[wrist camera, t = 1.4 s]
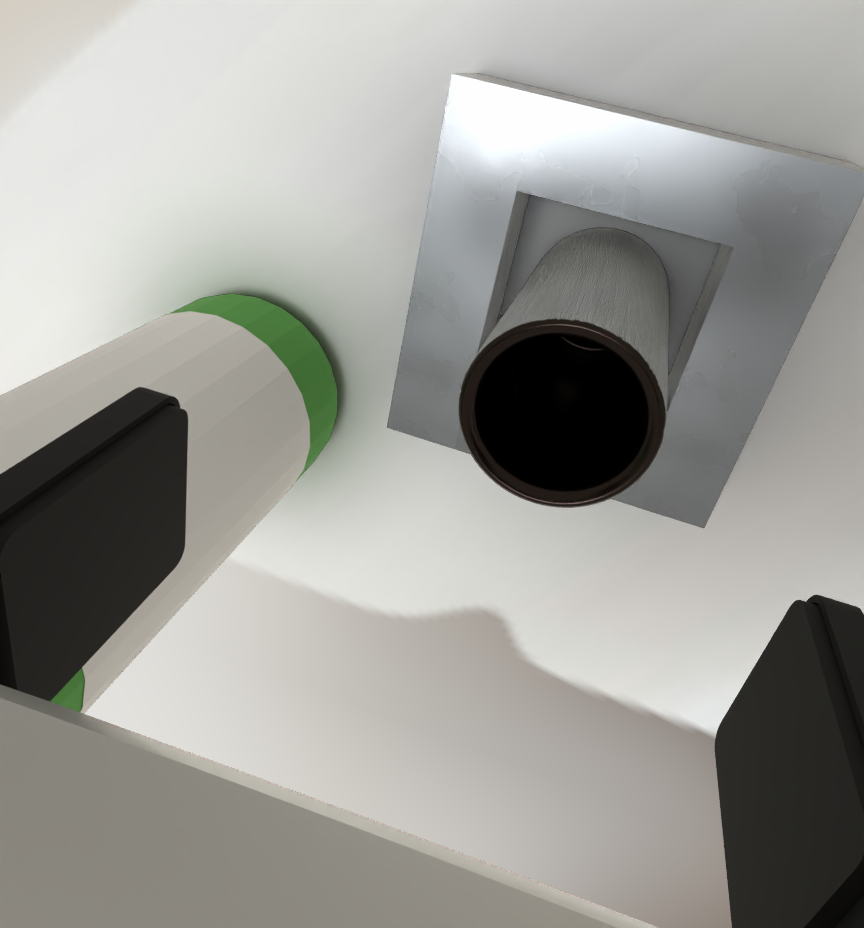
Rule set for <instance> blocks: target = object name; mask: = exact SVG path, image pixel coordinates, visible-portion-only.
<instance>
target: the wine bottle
mask: <svg viewBox="0 0 864 928" xmlns="http://www.w3.org/2000/svg"><path fill="white" fill-rule="evenodd" d="M138 387H144V388H147V389H151V390H154V391H157V392H160V393H164V394H167V395H170V396H173V397H175V398H177V399H178V401H179V404H180V408H181V409H184V410H185V411H186V412H187V414H188V452H187V493H186V534H185V549H184V553H183V556H182V558H181V560H180V562H179V564H178V565H177V566H176V568H175V569H174V570H173V571H172V572H171V573H170V574H169V575H168V576H167V577H166V578H165V579H164V581H163V582H162V583H161V584H160V585H159V586H158V587H157V588H156V589H155V590H154V591H153V592H152V593H151V594H150V595H149V597H148V598H147V599H146V600H145V601H144V602H143V603H142V604H141V605H140V606H139V607H138V608H137V609H136V610H135V611H134V613H133V614H132V615H131V616H130V617H129V618H128V619H127V620H126V621H125V622H124V623H123V624H122V625H121V626H120V628H119V629H118V630H117V631H116V632H115V633H114V634H113V635H112V636H111V637H110V638H109V639H108V640H107V641H106V642H105V644H104V645H103V646H102V647H101V648H100V649H99V650H98V651H97V652H96V653H95V654H94V655H93V656H92V657H91V658H90V660H89V661H88V662H87V663H86V664H85V665H84V666H83V667H82V668H81V669H80V670H79V671H78V672H77V673H76V675H75V676H74V677H73V678H72V679H71V680H70V681H69V682H68V683H67V684H66V685H65V686H64V687H63V688H62V689H61V691H60V692H59V693H58V694H57V695H56V696H55V697H54V698H53V699H52V700H51V701H50V702H52V703H55V704H58V705H61V706H64V707H66V708H69V709H72V710H75V711H77V712H80V713H83V714H84V713H85V712H86V711H87V710H88V709H89V708H90V706H91V705H92V704H93V703H94V702H95V701H96V700H97V699H98V698H99V697H100V696H101V694H102V693H103V692H104V691H105V690H106V689H107V688H108V687H109V686H110V685H111V684H112V683H113V682H114V680H115V679H116V678H117V677H118V676H119V675H120V674H121V673H122V672H123V671H124V669H125V668H126V667H127V666H128V665H129V664H130V663H131V662H132V661H133V660H134V659H135V658H136V656H137V655H138V654H139V653H140V652H141V651H142V650H143V649H144V648H145V647H146V645H147V644H148V643H149V642H150V641H151V640H152V639H153V638H154V637H155V636H156V635H157V633H158V632H159V631H160V630H161V629H162V628H163V627H164V626H165V625H166V624H167V623H168V621H169V620H170V619H171V618H172V617H173V616H174V615H175V614H176V613H177V612H178V611H179V609H180V608H181V607H182V606H183V605H184V604H185V603H186V602H187V601H188V600H189V599H190V597H191V596H192V595H193V594H194V593H195V592H196V591H197V590H198V589H199V588H200V587H201V585H202V584H203V583H204V582H205V581H206V580H207V579H208V578H209V577H210V576H211V574H212V573H213V572H214V571H215V570H216V569H217V568H218V567H219V566H220V565H221V564H222V563H223V561H224V560H225V559H226V558H227V557H228V556H229V555H230V554H231V553H232V552H233V551H234V549H235V548H236V547H237V546H238V545H239V544H240V543H241V542H242V541H243V540H244V539H245V537H246V536H247V535H248V534H249V533H250V532H251V531H252V530H253V529H254V528H255V527H256V525H257V524H258V523H259V522H260V521H261V520H262V519H263V518H264V517H265V516H266V515H267V513H268V512H269V511H270V510H271V509H272V508H273V507H274V506H275V505H276V504H277V503H278V501H279V500H280V499H281V498H282V497H283V496H284V495H285V494H286V493H287V492H288V491H289V489H290V488H291V487H292V486H293V484H294V483H295V482H296V481H297V479H298V478H299V477H300V476H301V475H302V474H303V473H304V472H305V471H306V470H307V469H308V468H309V466H310V465H311V464H312V463H313V462H314V461H315V460H316V458H317V457H318V455H319V454H320V452H321V451H322V449H323V448H324V446H325V445H326V443H327V442H328V440H329V439H330V436H331V433H332V430H333V426H334V423H335V419H336V416H337V387H336V383H335V379H334V376H333V372H332V368H331V365H330V363H329V361H328V359H327V357H326V355H325V353H324V351H323V350H322V348H321V346H320V344H319V342H318V341H317V340H316V339H315V338H314V337H313V335H312V334H311V333H310V332H309V331H308V329H307V328H306V327H305V326H304V325H303V324H302V323H301V322H300V321H298V320H297V319H296V318H294V317H293V316H292V315H290V314H289V313H288V312H286V311H285V310H284V309H282V308H281V307H278V306H276V305H274V304H271V303H269V302H267V301H265V300H262V299H260V298H257V297H251V296H244V295H238V294H225V295H218V296H211V297H204V298H201V299H198V300H196V301H194V302H192V303H190V304H188V305H186V306H184V307H182V308H180V309H178V310H176V311H174V312H172V313H170V314H166V315H164V316H162V317H160V318H157V319H155V320H153V321H151V322H149V323H147V324H145V325H143V326H141V327H139V328H137V329H135V330H133V331H131V332H129V333H127V334H125V335H123V336H121V337H119V338H117V339H115V340H113V341H111V342H109V343H107V344H105V345H103V346H100V347H98V348H96V349H94V350H92V351H90V352H88V353H86V354H84V355H82V356H80V357H78V358H76V359H74V360H72V361H70V362H68V363H66V364H64V365H62V366H60V367H58V368H56V369H54V370H52V371H50V372H48V373H46V374H43V375H41V376H39V377H37V378H35V379H33V380H31V381H29V382H27V383H25V384H23V385H21V386H19V387H17V388H15V389H13V390H11V391H9V392H7V393H5V394H3V395H1V396H0V474H1V473H3V472H4V471H6V470H8V469H9V468H11V467H12V466H14V465H15V464H17V463H19V462H20V461H22V460H23V459H25V458H26V457H28V456H30V455H31V454H33V453H34V452H36V451H37V450H39V449H41V448H42V447H44V446H45V445H47V444H48V443H50V442H52V441H53V440H55V439H56V438H58V437H60V436H61V435H63V434H64V433H66V432H67V431H69V430H71V429H72V428H74V427H75V426H77V425H78V424H80V423H82V422H83V421H85V420H86V419H88V418H89V417H91V416H93V415H94V414H96V413H97V412H99V411H100V410H102V409H104V408H105V407H107V406H108V405H110V404H112V403H113V402H115V401H116V400H118V399H119V398H121V397H123V396H124V395H126V394H127V393H129V392H130V391H132V390H134V389H135V388H138Z"/></svg>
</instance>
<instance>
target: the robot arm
mask: <svg viewBox="0 0 864 928" xmlns="http://www.w3.org/2000/svg"><path fill="white" fill-rule="evenodd" d="M187 452H188V414H187V412H186V411H185V410H184V409H181V408H180V404H179V401H178V399H177V398H175V397H173V396H170V395H167V394H164V393H160V392H157V391H154V390H151V389H147V388H144V387H138V388H135V389H134V390H132V391H130V392H129V393H127V394H126V395H124V396H123V397H121V398H119V399H118V400H116V401H115V402H113V403H112V404H110V405H108V406H107V407H105V408H104V409H102V410H100V411H99V412H97V413H96V414H94V415H93V416H91V417H89V418H88V419H86V420H85V421H83V422H82V423H80V424H78V425H77V426H75V427H74V428H72V429H71V430H69V431H67V432H66V433H64V434H63V435H61V436H60V437H58V438H56V439H55V440H53V441H52V442H50V443H48V444H47V445H45V446H44V447H42V448H41V449H39V450H37V451H36V452H34V453H33V454H31V455H30V456H28V457H26V458H25V459H23V460H22V461H20V462H19V463H17V464H15V465H14V466H12V467H11V468H9V469H8V470H6V471H4V472H3V473H1V474H0V928H658V927H656V926H653V925H651V924H648V923H645V922H643V921H640V920H638V919H635V918H632V917H630V916H627V915H624V914H622V913H619V912H616V911H614V910H611V909H608V908H606V907H603V906H600V905H598V904H595V903H592V902H590V901H587V900H585V899H582V898H579V897H576V896H574V895H571V894H569V893H566V892H563V891H561V890H558V889H555V888H553V887H550V886H547V885H545V884H542V883H539V882H537V881H534V880H531V879H529V878H526V877H523V876H521V875H518V874H516V873H513V872H510V871H508V870H505V869H502V868H500V867H497V866H494V865H492V864H489V863H486V862H484V861H481V860H478V859H476V858H473V857H470V856H468V855H465V854H463V853H459V852H457V851H455V850H452V849H449V848H446V847H444V846H441V845H438V844H436V843H433V842H430V841H428V840H425V839H422V838H420V837H417V836H414V835H412V834H409V833H406V832H403V831H401V830H398V829H395V828H393V827H390V826H387V825H385V824H382V823H379V822H377V821H374V820H371V819H368V818H365V817H363V816H360V815H358V814H355V813H352V812H349V811H347V810H344V809H342V808H339V807H336V806H334V805H331V804H328V803H325V802H323V801H320V800H317V799H315V798H312V797H309V796H307V795H304V794H301V793H298V792H296V791H293V790H290V789H288V788H285V787H282V786H279V785H277V784H274V783H271V782H269V781H266V780H263V779H261V778H258V777H255V776H252V775H250V774H247V773H244V772H241V771H239V770H236V769H234V768H231V767H228V766H225V765H223V764H220V763H217V762H214V761H212V760H209V759H206V758H203V757H201V756H198V755H195V754H192V753H190V752H187V751H184V750H181V749H178V748H176V747H173V746H170V745H168V744H165V743H162V742H159V741H157V740H154V739H151V738H149V737H146V736H143V735H140V734H138V733H135V732H132V731H129V730H127V729H124V728H121V727H118V726H116V725H113V724H110V723H107V722H105V721H102V720H99V719H96V718H94V717H91V716H88V715H85V714H83V713H80V712H77V711H75V710H72V709H69V708H66V707H64V706H61V705H58V704H55V703H52V702H50V701H51V700H52V699H53V698H54V697H55V696H56V695H57V694H58V693H59V692H60V691H61V689H62V688H63V687H64V686H65V685H66V684H67V683H68V682H69V681H70V680H71V679H72V678H73V677H74V676H75V675H76V673H77V672H78V671H79V670H80V669H81V668H82V667H83V666H84V665H85V664H86V663H87V662H88V661H89V660H90V658H91V657H92V656H93V655H94V654H95V653H96V652H97V651H98V650H99V649H100V648H101V647H102V646H103V645H104V644H105V642H106V641H107V640H108V639H109V638H110V637H111V636H112V635H113V634H114V633H115V632H116V631H117V630H118V629H119V628H120V626H121V625H122V624H123V623H124V622H125V621H126V620H127V619H128V618H129V617H130V616H131V615H132V614H133V613H134V611H135V610H136V609H137V608H138V607H139V606H140V605H141V604H142V603H143V602H144V601H145V600H146V599H147V598H148V597H149V595H150V594H151V593H152V592H153V591H154V590H155V589H156V588H157V587H158V586H159V585H160V584H161V583H162V582H163V581H164V579H165V578H166V577H167V576H168V575H169V574H170V573H171V572H172V571H173V570H174V569H175V568H176V566H177V565H178V564H179V562H180V560H181V558H182V556H183V553H184V549H185V534H186V493H187ZM715 757H716V766H717V777H718V788H719V797H720V808H721V818H722V828H723V837H724V848H725V860H726V869H727V879H728V890H729V900H730V911H731V921H732V928H864V614H863V612H862V611H861V609H860V608H858V607H856V606H852V605H849V604H846V603H843V602H839V601H836V600H833V599H830V598H826V597H823V596H820V595H813V596H812V597H810V598H809V599H808V600H807V602H805V601H801V600H796V601H795V602H794V603H793V604H792V605H791V606H790V608H789V610H788V611H787V613H786V615H785V616H784V618H783V620H782V621H781V623H780V625H779V626H778V628H777V630H776V631H775V633H774V635H773V636H772V638H771V640H770V641H769V643H768V645H767V646H766V648H765V650H764V651H763V653H762V655H761V656H760V658H759V660H758V661H757V663H756V665H755V666H754V668H753V670H752V671H751V673H750V675H749V676H748V678H747V680H746V682H745V683H744V685H743V687H742V688H741V690H740V692H739V693H738V695H737V697H736V698H735V700H734V702H733V703H732V705H731V707H730V708H729V710H728V712H727V713H726V715H725V717H724V718H723V720H722V722H721V724H720V726H719V728H718V731H717V734H716V739H715Z"/></svg>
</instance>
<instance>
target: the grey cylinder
mask: <svg viewBox="0 0 864 928" xmlns="http://www.w3.org/2000/svg"><path fill="white" fill-rule="evenodd" d="M668 343H669V286H668V281H667V277H666V273H665V270H664V268H663V265H662V263H661V261H660V260H659V258H658V256H657V255H656V254H655V252H654V251H653V250H652V249H651V248H650V247H649V246H648V245H647V244H646V243H645V242H643V241H642V240H641V239H639V238H638V237H636V236H634V235H632V234H630V233H627V232H625V231H622V230H618V229H613V228H591V229H586V230H582V231H579V232H576V233H574V234H572V235H570V236H568V237H566V238H564V239H563V240H561V241H560V242H559V243H557V244H556V245H555V246H554V247H553V248H552V249H551V250H550V251H549V252H548V253H547V254H546V255H545V256H544V257H543V258H542V260H541V261H540V262H539V264H538V265H537V267H536V268H535V270H534V271H533V273H532V274H531V276H530V277H529V278H528V280H527V281H526V283H525V284H524V286H523V287H522V289H521V290H520V292H519V293H518V294H517V296H516V297H515V299H514V300H513V302H512V303H511V305H510V306H509V308H508V309H507V310H506V312H505V313H504V315H503V316H502V318H501V319H500V321H499V322H498V324H497V325H496V326H495V328H494V329H493V331H492V332H491V334H490V335H489V337H488V338H487V340H486V341H485V342H484V344H483V345H482V347H481V348H480V350H479V351H478V353H477V354H476V356H475V357H474V359H473V360H472V362H471V364H470V366H469V367H468V369H467V371H466V374H465V376H464V378H463V381H462V384H461V389H460V393H459V401H458V415H459V423H460V428H461V432H462V435H463V438H464V441H465V443H466V446H467V448H468V450H469V452H470V454H471V455H472V457H473V458H474V460H475V461H476V463H477V464H478V465H479V467H480V468H481V469H482V470H483V471H484V473H485V474H486V475H487V476H488V477H489V478H491V479H492V480H493V481H494V482H495V483H497V484H498V485H499V486H500V487H502V488H503V489H505V490H506V491H508V492H510V493H512V494H513V495H515V496H518V497H520V498H522V499H524V500H527V501H530V502H533V503H536V504H540V505H545V506H551V507H562V508H573V507H583V506H589V505H593V504H597V503H600V502H603V501H606V500H608V499H611V498H613V497H615V496H617V495H619V494H621V493H622V492H624V491H625V490H627V489H628V488H630V487H631V486H632V485H634V484H635V483H636V482H637V481H638V480H639V479H640V478H641V477H642V476H643V475H644V474H645V473H646V472H647V471H648V469H649V468H650V467H651V465H652V464H653V462H654V461H655V459H656V457H657V455H658V453H659V451H660V448H661V446H662V443H663V440H664V436H665V431H666V423H667V395H668Z"/></svg>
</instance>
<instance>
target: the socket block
mask: <svg viewBox="0 0 864 928" xmlns="http://www.w3.org/2000/svg"><path fill="white" fill-rule="evenodd" d="M529 194H531V195H535V196H539V197H543V198H547V199H550V200H554V201H558V202H562V203H566V204H570V205H573V206H577V207H581V208H585V209H589V210H593V211H596V212H600V213H604V214H608V215H612V216H616V217H619V218H623V219H627V220H631V221H635V222H639V223H642V224H646V225H650V226H654V227H658V228H662V229H665V230H669V231H673V232H677V233H681V234H685V235H688V236H692V237H696V238H700V239H704V240H708V241H711V242H715V243H719V244H721V245H720V248H719V250H718V253H717V255H716V258H715V260H714V263H713V265H712V268H711V270H710V273H709V275H708V278H707V280H706V283H705V285H704V288H703V290H702V293H701V296H700V298H699V301H698V303H697V306H696V308H695V311H694V313H693V316H692V318H691V321H690V323H689V326H688V328H687V331H686V333H685V336H684V338H683V341H682V343H681V346H680V348H679V351H678V354H677V356H676V359H675V361H674V364H673V366H672V369H671V371H670V374H669V376H668V395H667V423H666V431H665V436H664V440H663V443H662V446H661V448H660V451H659V453H658V455H657V457H656V459H655V461H654V462H653V464H652V465H651V467H650V468H649V469H648V471H647V472H646V473H645V474H644V475H643V476H642V477H641V478H640V479H639V480H638V481H637V482H636V483H635V484H634V485H632V486H631V487H630V488H628V489H627V490H625V491H624V492H622V493H621V494H619V495H617V496H615V497H613V498H611V499H613V500H616V501H620V502H623V503H626V504H629V505H632V506H635V507H638V508H641V509H645V510H648V511H651V512H654V513H657V514H660V515H663V516H667V517H670V518H673V519H676V520H679V521H682V522H685V523H689V524H692V525H695V526H698V527H701V528H705V526H706V524H707V521H708V519H709V517H710V515H711V513H712V511H713V509H714V507H715V505H716V503H717V501H718V499H719V497H720V494H721V492H722V490H723V488H724V486H725V484H726V482H727V480H728V478H729V476H730V474H731V472H732V470H733V467H734V465H735V463H736V461H737V459H738V457H739V455H740V453H741V451H742V449H743V447H744V445H745V442H746V440H747V438H748V436H749V434H750V432H751V430H752V428H753V426H754V424H755V422H756V420H757V418H758V415H759V413H760V411H761V409H762V407H763V405H764V403H765V401H766V399H767V397H768V395H769V393H770V391H771V388H772V386H773V384H774V382H775V380H776V378H777V376H778V374H779V372H780V370H781V368H782V366H783V364H784V361H785V359H786V357H787V355H788V353H789V351H790V349H791V347H792V345H793V343H794V341H795V339H796V337H797V334H798V332H799V330H800V328H801V326H802V324H803V322H804V320H805V318H806V316H807V314H808V312H809V310H810V307H811V305H812V303H813V301H814V299H815V297H816V295H817V293H818V291H819V289H820V287H821V285H822V283H823V280H824V278H825V276H826V274H827V272H828V270H829V268H830V266H831V264H832V262H833V260H834V258H835V256H836V253H837V251H838V249H839V247H840V245H841V243H842V241H843V239H844V237H845V235H846V233H847V231H848V229H849V226H850V224H851V222H852V220H853V218H854V216H855V214H856V212H857V210H858V208H859V206H860V204H861V202H862V199H863V197H864V169H862V168H860V167H858V166H857V165H855V164H853V163H851V162H848V161H844V160H840V159H836V158H831V157H827V156H823V155H819V154H815V153H810V152H806V151H802V150H798V149H794V148H789V147H785V146H781V145H777V144H773V143H768V142H764V141H760V140H756V139H752V138H747V137H743V136H739V135H735V134H731V133H726V132H722V131H718V130H714V129H710V128H705V127H701V126H697V125H693V124H689V123H684V122H680V121H676V120H672V119H668V118H664V117H659V116H655V115H651V114H647V113H643V112H638V111H634V110H630V109H626V108H622V107H617V106H613V105H609V104H605V103H601V102H596V101H592V100H588V99H584V98H580V97H575V96H571V95H567V94H563V93H559V92H554V91H550V90H546V89H542V88H538V87H533V86H529V85H525V84H521V83H517V82H512V81H508V80H504V79H500V78H496V77H492V76H487V75H483V74H479V73H461V74H452V76H451V82H450V87H449V92H448V98H447V103H446V109H445V114H444V120H443V125H442V130H441V136H440V141H439V147H438V152H437V158H436V163H435V168H434V174H433V179H432V185H431V190H430V196H429V201H428V206H427V212H426V217H425V223H424V228H423V234H422V239H421V244H420V250H419V255H418V261H417V266H416V271H415V277H414V282H413V288H412V293H411V299H410V304H409V309H408V315H407V320H406V326H405V331H404V337H403V342H402V347H401V353H400V358H399V364H398V369H397V375H396V380H395V385H394V391H393V396H392V402H391V407H390V413H389V418H388V423H387V428H390V429H393V430H396V431H400V432H403V433H406V434H409V435H412V436H415V437H418V438H422V439H425V440H428V441H431V442H434V443H437V444H440V445H444V446H447V447H450V448H453V449H456V450H459V451H462V452H466V453H469V454H470V452H469V450H468V448H467V446H466V443H465V441H464V438H463V435H462V432H461V428H460V423H459V415H458V401H459V393H460V389H461V384H462V381H463V378H464V376H465V374H466V371H467V369H468V367H469V366H470V364H471V362H472V360H473V359H474V357H475V356H476V354H477V353H478V351H479V350H480V348H481V347H482V345H483V344H484V342H485V341H486V340H487V338H488V337H489V335H490V334H491V332H492V331H493V329H494V328H495V326H496V325H497V321H498V317H499V313H500V309H501V305H502V301H503V297H504V293H505V289H506V286H507V282H508V278H509V274H510V270H511V266H512V262H513V258H514V254H515V250H516V246H517V242H518V238H519V234H520V230H521V226H522V222H523V218H524V214H525V210H526V206H527V202H528V198H529Z"/></svg>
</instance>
